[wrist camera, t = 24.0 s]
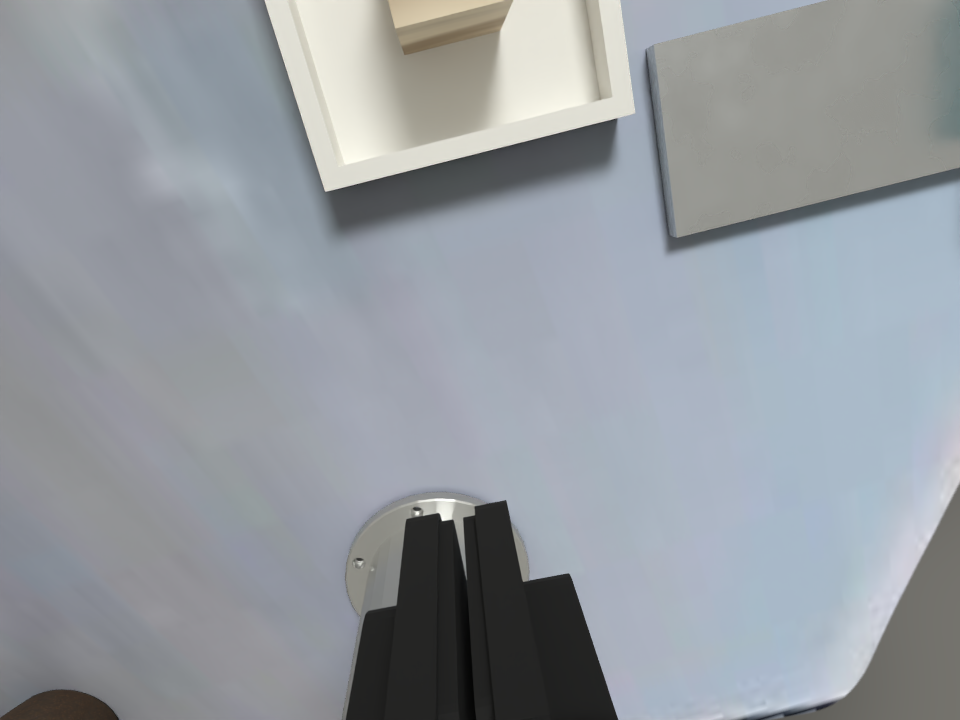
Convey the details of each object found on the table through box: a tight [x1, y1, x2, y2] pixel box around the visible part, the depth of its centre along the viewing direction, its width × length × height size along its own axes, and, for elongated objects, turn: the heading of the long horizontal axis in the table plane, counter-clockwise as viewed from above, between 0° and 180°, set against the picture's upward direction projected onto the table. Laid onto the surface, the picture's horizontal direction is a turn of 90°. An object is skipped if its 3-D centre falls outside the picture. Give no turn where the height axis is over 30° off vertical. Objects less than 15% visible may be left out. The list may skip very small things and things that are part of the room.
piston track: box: [646, 0, 960, 238], centre depth 30 cm, size 10×28×4 cm, turn 103°
